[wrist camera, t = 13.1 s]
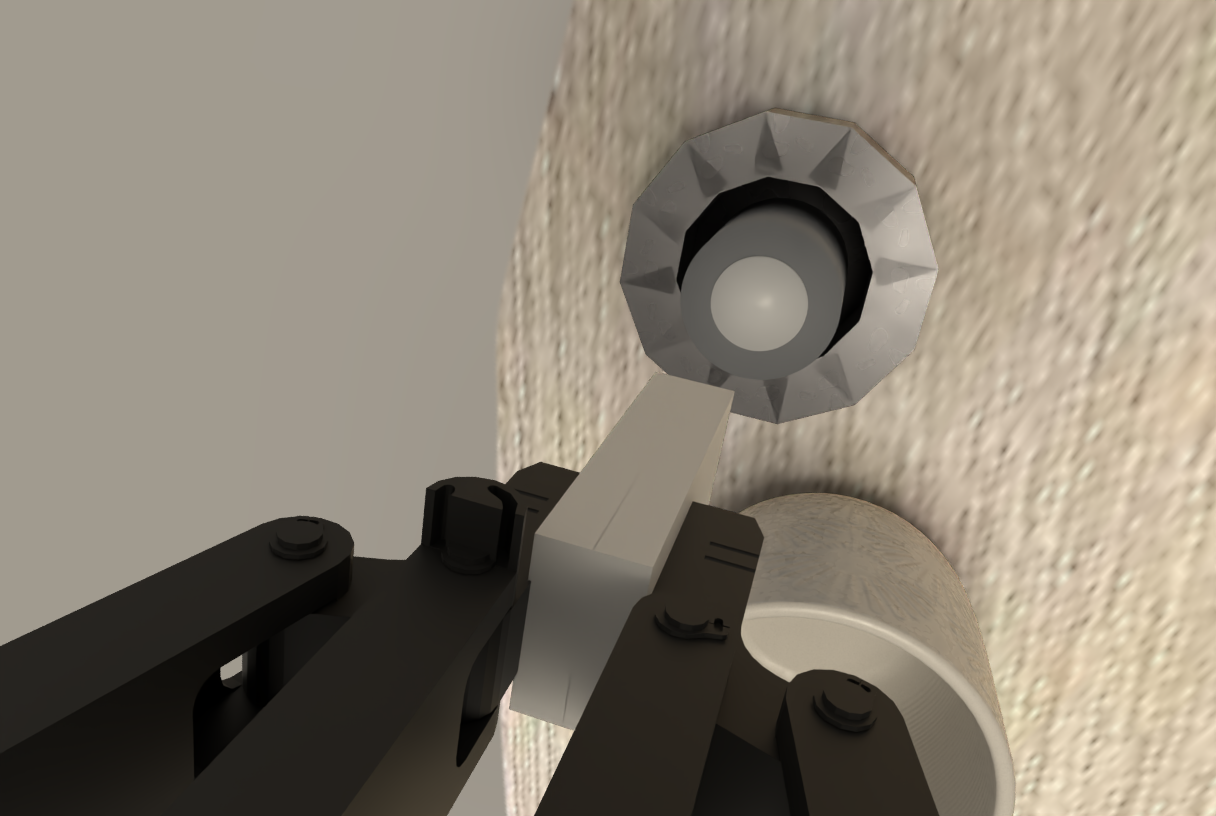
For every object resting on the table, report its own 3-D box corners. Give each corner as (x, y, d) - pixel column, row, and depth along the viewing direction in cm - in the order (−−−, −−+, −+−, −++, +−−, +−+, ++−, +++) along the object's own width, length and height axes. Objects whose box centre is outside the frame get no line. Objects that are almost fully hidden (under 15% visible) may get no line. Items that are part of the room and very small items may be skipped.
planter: (834, 400, 36) (815, 526, 26) (1050, 624, 37) (1111, 828, 27) (621, 574, 41) (538, 733, 31) (813, 767, 42) (791, 982, 32)
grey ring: (670, 88, 34) (652, 90, 31) (967, 142, 32) (974, 150, 29) (623, 357, 38) (603, 380, 35) (884, 421, 36) (884, 450, 33)
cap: (726, 185, 34) (695, 208, 28) (863, 212, 33) (859, 242, 28) (700, 315, 36) (666, 361, 30) (829, 344, 35) (819, 397, 29)
